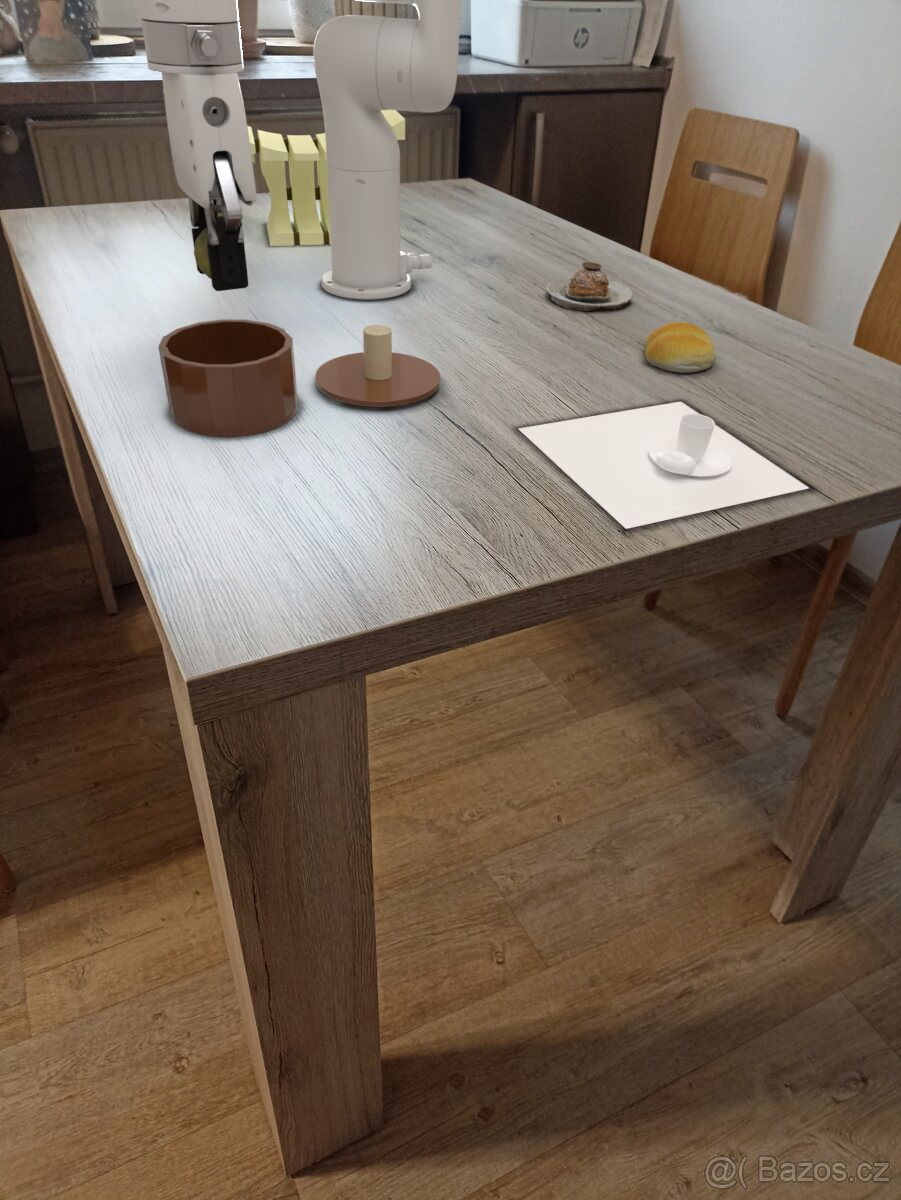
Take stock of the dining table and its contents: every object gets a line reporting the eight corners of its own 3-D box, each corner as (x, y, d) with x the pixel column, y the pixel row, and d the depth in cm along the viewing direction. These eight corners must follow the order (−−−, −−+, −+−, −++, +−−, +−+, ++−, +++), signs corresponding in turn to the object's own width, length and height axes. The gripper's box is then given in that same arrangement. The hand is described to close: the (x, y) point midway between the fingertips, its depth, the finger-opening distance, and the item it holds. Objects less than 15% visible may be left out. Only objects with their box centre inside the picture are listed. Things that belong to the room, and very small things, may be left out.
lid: (408, 354, 101) (408, 302, 97) (461, 399, 91) (464, 342, 88) (298, 372, 96) (294, 317, 92) (343, 421, 86) (340, 362, 82)
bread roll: (644, 371, 99) (650, 338, 97) (644, 344, 106) (649, 312, 104) (716, 379, 98) (724, 345, 96) (711, 350, 105) (718, 318, 103)
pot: (275, 377, 94) (269, 313, 90) (314, 423, 86) (309, 355, 81) (159, 395, 89) (146, 328, 85) (188, 446, 81) (176, 375, 76)
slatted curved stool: (389, 218, 151) (388, 103, 140) (404, 243, 139) (405, 118, 128) (215, 221, 145) (200, 101, 135) (215, 247, 133) (199, 117, 122)
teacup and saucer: (672, 488, 77) (681, 448, 75) (624, 449, 83) (631, 411, 81) (749, 472, 80) (760, 433, 78) (698, 436, 86) (706, 398, 84)
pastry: (550, 281, 125) (554, 249, 122) (633, 289, 123) (638, 257, 121) (541, 307, 116) (544, 272, 113) (630, 316, 114) (635, 281, 111)
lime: (247, 273, 82) (241, 218, 79) (247, 289, 78) (240, 232, 75) (199, 274, 81) (191, 218, 78) (196, 290, 77) (188, 232, 74)
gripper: (272, 59, 64) (291, 303, 75) (212, 38, 76) (236, 252, 87) (171, 60, 61) (206, 314, 72) (125, 38, 73) (161, 259, 84)
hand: (222, 277), depth 79 cm, fingers closed on lime, 4 cm apart
